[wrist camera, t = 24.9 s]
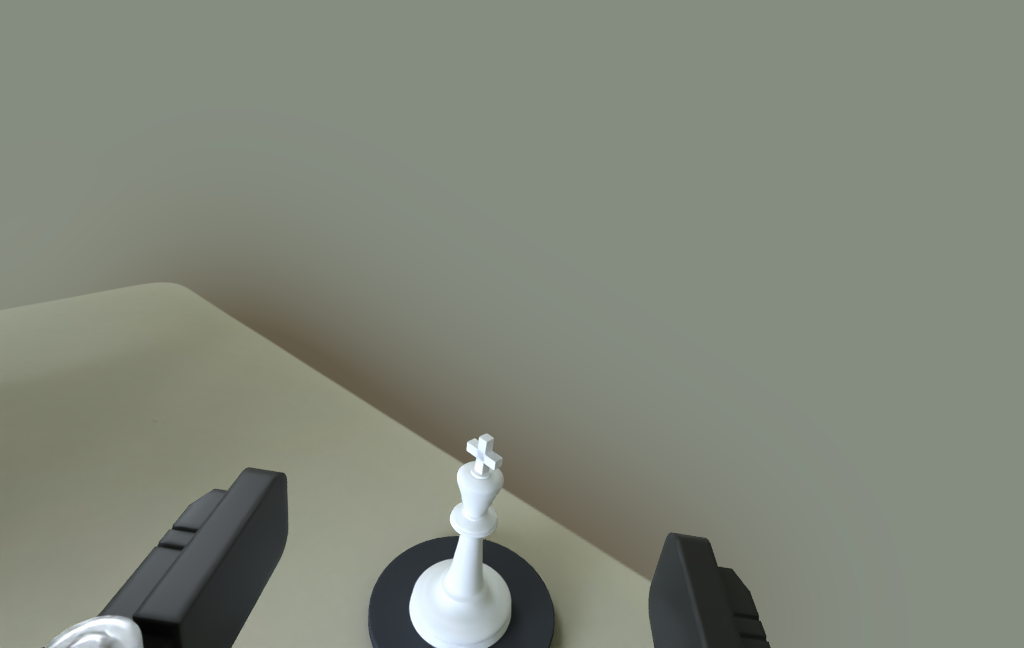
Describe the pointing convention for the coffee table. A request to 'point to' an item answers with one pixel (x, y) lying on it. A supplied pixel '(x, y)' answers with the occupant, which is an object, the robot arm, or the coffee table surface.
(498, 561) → the coaster
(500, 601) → the chess piece
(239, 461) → the coffee table surface
